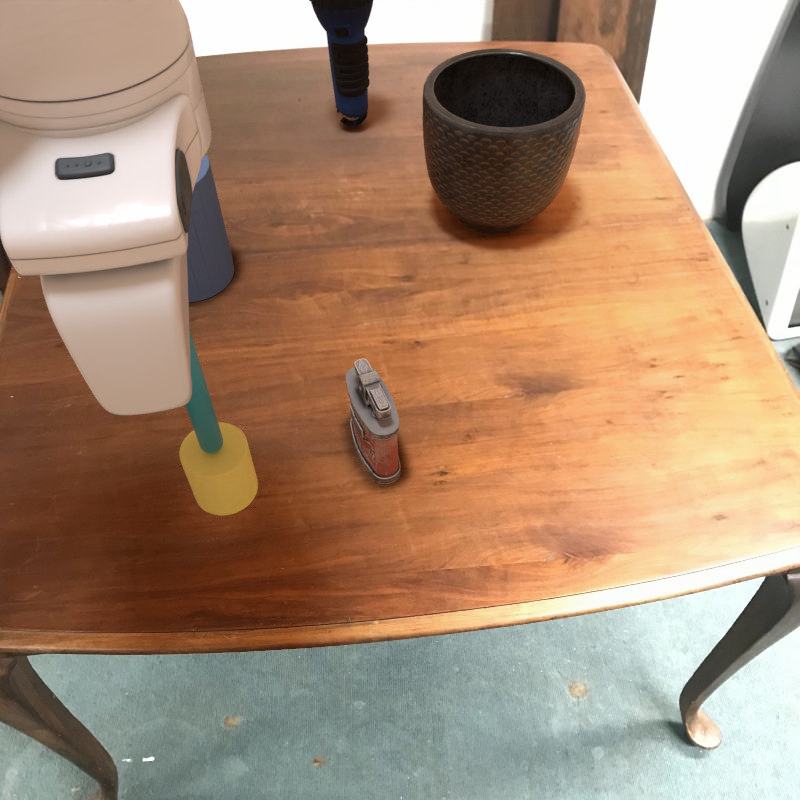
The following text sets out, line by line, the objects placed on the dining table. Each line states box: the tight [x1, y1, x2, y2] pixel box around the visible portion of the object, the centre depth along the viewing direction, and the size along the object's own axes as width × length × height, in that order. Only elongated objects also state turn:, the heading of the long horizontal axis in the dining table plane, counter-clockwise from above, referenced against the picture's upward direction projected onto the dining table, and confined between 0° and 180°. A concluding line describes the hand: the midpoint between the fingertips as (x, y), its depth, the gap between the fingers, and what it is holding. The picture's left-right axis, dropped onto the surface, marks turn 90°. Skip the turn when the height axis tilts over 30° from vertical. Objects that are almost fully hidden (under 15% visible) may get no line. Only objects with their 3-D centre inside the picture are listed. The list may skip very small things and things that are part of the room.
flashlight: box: [309, 0, 374, 128], centre depth 98 cm, size 8×8×20 cm
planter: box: [422, 47, 587, 235], centre depth 88 cm, size 17×17×16 cm
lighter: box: [345, 358, 402, 485], centre depth 68 cm, size 8×3×10 cm, turn 22°
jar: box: [187, 153, 235, 303], centre depth 82 cm, size 9×9×14 cm
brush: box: [178, 329, 259, 516], centre depth 49 cm, size 5×5×21 cm
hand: (175, 335), depth 44 cm, fingers closed on brush
